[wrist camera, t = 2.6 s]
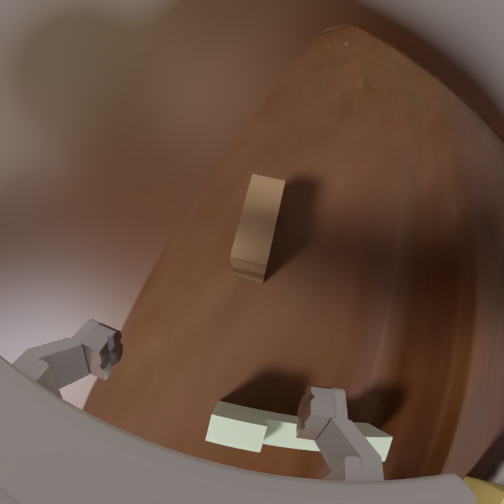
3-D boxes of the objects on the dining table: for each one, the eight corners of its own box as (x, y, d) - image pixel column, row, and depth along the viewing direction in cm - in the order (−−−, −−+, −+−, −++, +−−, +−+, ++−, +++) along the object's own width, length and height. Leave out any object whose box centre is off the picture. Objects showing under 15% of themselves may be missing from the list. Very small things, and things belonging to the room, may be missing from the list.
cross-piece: (251, 208, 32) (252, 173, 26) (278, 213, 32) (285, 180, 26) (234, 276, 30) (229, 256, 23) (262, 283, 30) (266, 265, 23)
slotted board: (219, 400, 26) (211, 414, 20) (368, 423, 25) (392, 437, 19) (213, 422, 25) (205, 440, 20) (362, 443, 24) (384, 461, 19)
